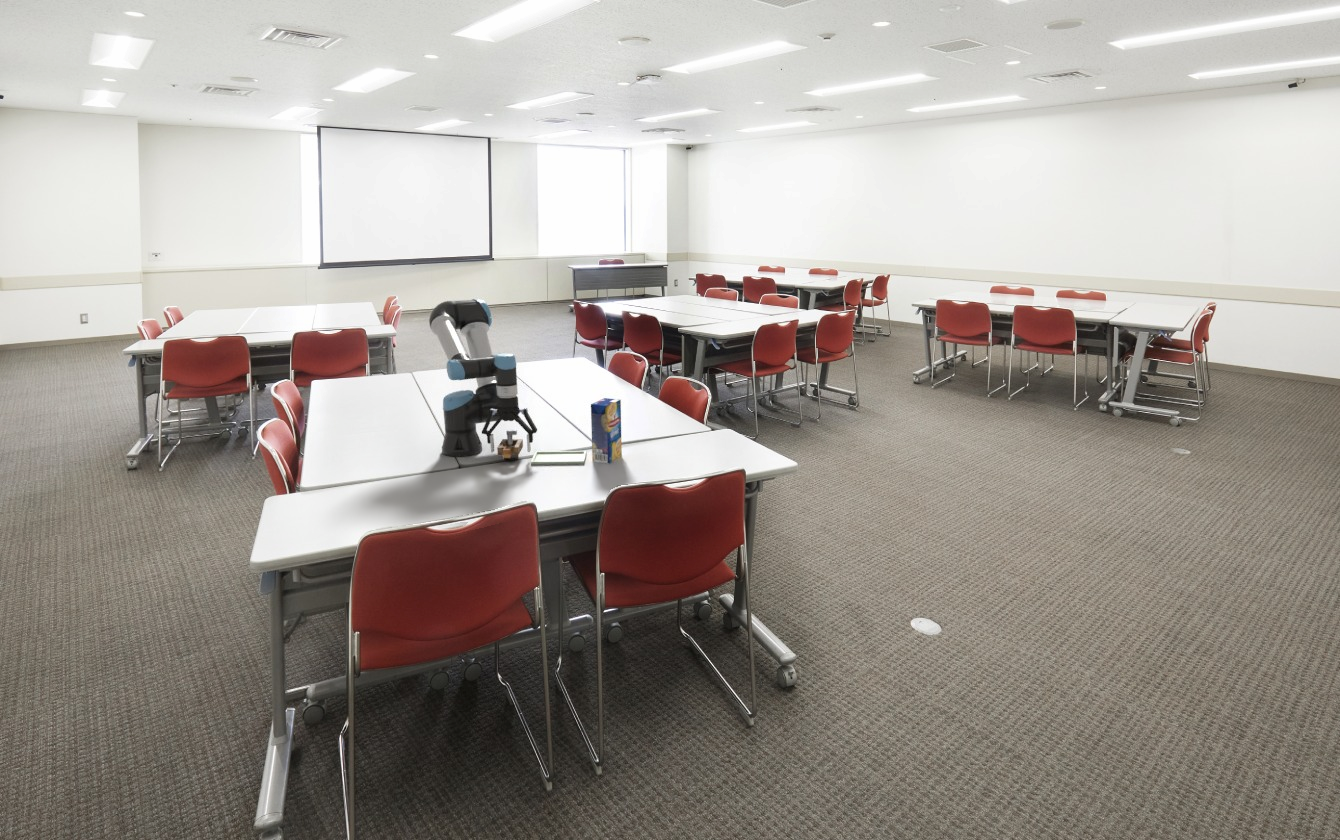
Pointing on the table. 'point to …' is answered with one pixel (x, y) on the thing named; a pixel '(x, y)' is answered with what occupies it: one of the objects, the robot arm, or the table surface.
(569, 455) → the tray
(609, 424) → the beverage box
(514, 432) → the gray post stand
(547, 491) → the table surface
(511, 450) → the wooden rectangular frame
